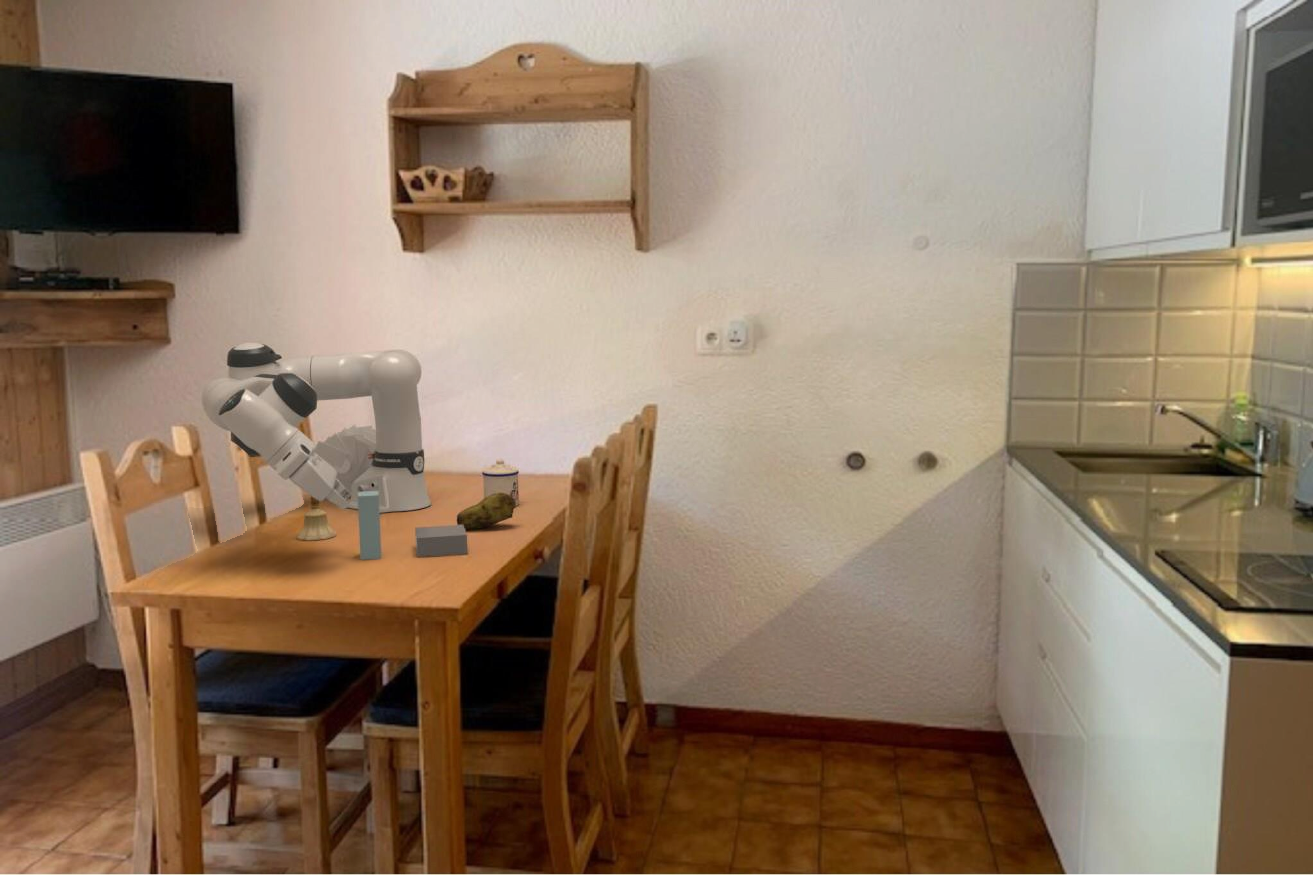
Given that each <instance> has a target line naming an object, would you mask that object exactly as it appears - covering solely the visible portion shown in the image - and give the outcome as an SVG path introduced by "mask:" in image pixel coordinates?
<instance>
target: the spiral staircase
mask: <svg viewBox="0 0 1313 875" xmlns="http://www.w3.org/2000/svg"><path fill="white" fill-rule="evenodd" d="M313 451H314V452H315V453H316V454H318V456H320V457H321V458H322V459H323V460H325V461H326V462H327V463H328V464H329V465H331V466H332V467H333V468H334V469H335V470H336V471H337V476H336V479H338V480H339V481H340V482H341V484H342V485H343V486H344V487H345V488H346V489H347V490H348V491H349V492H350V493H351V489H352V484H353V482H354V481H355V480H356V479H357V478H358V477H359V476H360V475H362V474H363V473H364V472H365V471H366V470H367V469H368V468H370V467H371V466H372V465H371V464H372V460H373V458H372V459H368V458H369V457H371V455H369V454H373V453H375V452H376V451H377V446H376V429H374V428H373V426H372V425H369V426H368V425H366V426H358V427H357V426H356V425H355V424H352V426H351V427H349V428H347V427H344V428H343V429H342V430H341V431H338V432H337V433H334V434H332V435H331V436H327V437H326V440H324V441H321V440H318V442H317V444H316V447H315V448H314V449H313ZM368 455H369V456H368Z"/></svg>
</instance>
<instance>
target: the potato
mask: <svg viewBox="0 0 1313 875" xmlns="http://www.w3.org/2000/svg"><path fill="white" fill-rule="evenodd" d="M515 505H516V503H515V500H514V498H513V497H511V496H510V495H508V494H505V493H497V494H492V495H490V496H488V497H486V498H484V497H483V499H482V500H481V501H479V502H478V503H477V504H474V505H472V506H469V507H467V508H464V509H463V510H461V511H460V512H458V513H457V515H456V525H464V528H465V530H470V529H485V528H490V527H492V526H495V525H497V524H498V523H500V522H504V521H506V520H509V519H512V518H513V517H514V516H513V514H514V510H515V508H516V507H515Z"/></svg>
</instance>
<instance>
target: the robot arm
mask: <svg viewBox="0 0 1313 875" xmlns="http://www.w3.org/2000/svg"><path fill="white" fill-rule="evenodd" d="M281 359H283V356H282V355H281V354H277V353H276V352H275V350H274V349H273V348H272V347H270V346H268V345H267V344H263V343H258V342H252V341H251V342H250V341H249V342H243V343H241V344H238V345H236V346H233V347H232V348H231V349H229V351H228V352H227V360H226V366H228V377H220V378H216V379H214V380H212V381H210V382H209V383H208V384H207V385H206V386H205V387H204V389H203V391H202V394H201V395H202V396H201V404H202V408H203V411H204V413H205V414H206V416H207V417H208V418H209V420H210V421H211V422H212V423H213V424H214V425H216V426H217V427H219V428H220V429H223V430H224V431H228V432H230V442H232V443H234V444H235V445H237V446H238V448H240V449H241V450H242V451H244V452H245V453H246V455H248V456H249V458H260V457H261V458H262V460H263V461H264V462H265V463H266V464H268V465H269V466H270V468H272V469H273V470H275V471H276V472H277V474H278V475H279V477H281V478H282V479H284V480H285V481H286V480H288V479H289V480H290V482H292V483H293V484H294V485H295V486H297V487H299V489H301V490H302V491H304V492H305V493H306V494H307V495H309V496H310V497H311V496H312V497H313V498H315V499H317V500H319V501H320V502H323V500H325V499H327V501H329V502H331V503H332V504H333V505H336V506H337V507H338V508H340V509H341V510H342V511H343V510H345V511H346V509H347V508H349V509H353V510H354V509H355V510H358V492H365V491H378V492H379V513H380V514H381V513H389V512H403V511H413V510H418V509H423V508H427V507H429V506H431V504H432V503H431V500H430V496H429V494H428V488H427V483H426V478H425V472H424V468H425V463H426V462H425V450H424V449H423V443H422V442H423V440H422V438H423V437H422V418H421V417H422V416H421V413H420V404H419V393H418V384H419V382H420V381H421V378H422V366H421V363H420V361H419V359H418V358H417V357H416V356H415V355H414V354H413V353H411V352H409V351H407V350H404V349H388V350H377V351H365V352H364V351H363V352H353V353H352V352H351V353H339V354H337V353H335V354H322V355H321V354H320V355H309V356H307V355H306V356H298V357H293V358H289V359H288V358H287V359H284V360H281ZM279 360H280V361H279ZM366 397H371V401H372V407H373V414H374V420H375V421H374V422H375V423H374V424H375V430H376V446H377V451H376V452H375V453H373V454H369V455H371V457H369V458H368V459H372V458H373V460H372V464H371V465H372V466H371V467H370V468H368V469H367V470H366V471H365V472H364V473H363V474H362V475H360V476H359V477H358V478H357V479H356V480H355V481H354V482H353V484H352V489H351V493H350V492H349V491H348V490H347V489H346V488H345V487H344V486H343V485H342V484H341V482H340V481H339V480H338V479H336V476H337V471H336V470H335V469H334V468H333V467H332V466H331V465H329V464H328V463H327V462H326V461H325V460H323V459H322V458H321V457H320V456H318V454H316V453H315V452H314V450H315V448H316V446H317V444H316V443H315V442H314V441H313V440H311V439H310V438H309V437H308V436H307V435H306V434H305V433H304V432H302V430H300V429H299V428H297V427H298V426H299V425H300V424H301V423H302V422H303V421H304V420H305V419H306V418H308V417H309V416H311V414H312V413H313V412H315V410H317V409H318V408H317V407H318V402H319V401H333V400H346V399H349V400H350V399H356V398H357V399H358V398H366ZM369 455H368V456H369Z"/></svg>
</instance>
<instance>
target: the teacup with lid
mask: <svg viewBox="0 0 1313 875" xmlns="http://www.w3.org/2000/svg"><path fill="white" fill-rule="evenodd" d="M481 473H482V477H483V480H482V481H483V482H482V483H483V499H484V498H486V497H488V496H490V495H492V494H497V493H505V494H508V495H510V496H511V497H513V498H514V500H515V503H516V505H515V506H516V507H518V506H519V503H520V501H519V500H520V499H519V497H520V496H519V474H520V473H519V469H518V468H517V467H514V466H511V465H510V464H508V463H506V462H505V460H504V459H496V461H495V463H494V464H492V465H491V466H488V467H485V468H484V469H483V470H482V472H481Z"/></svg>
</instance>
